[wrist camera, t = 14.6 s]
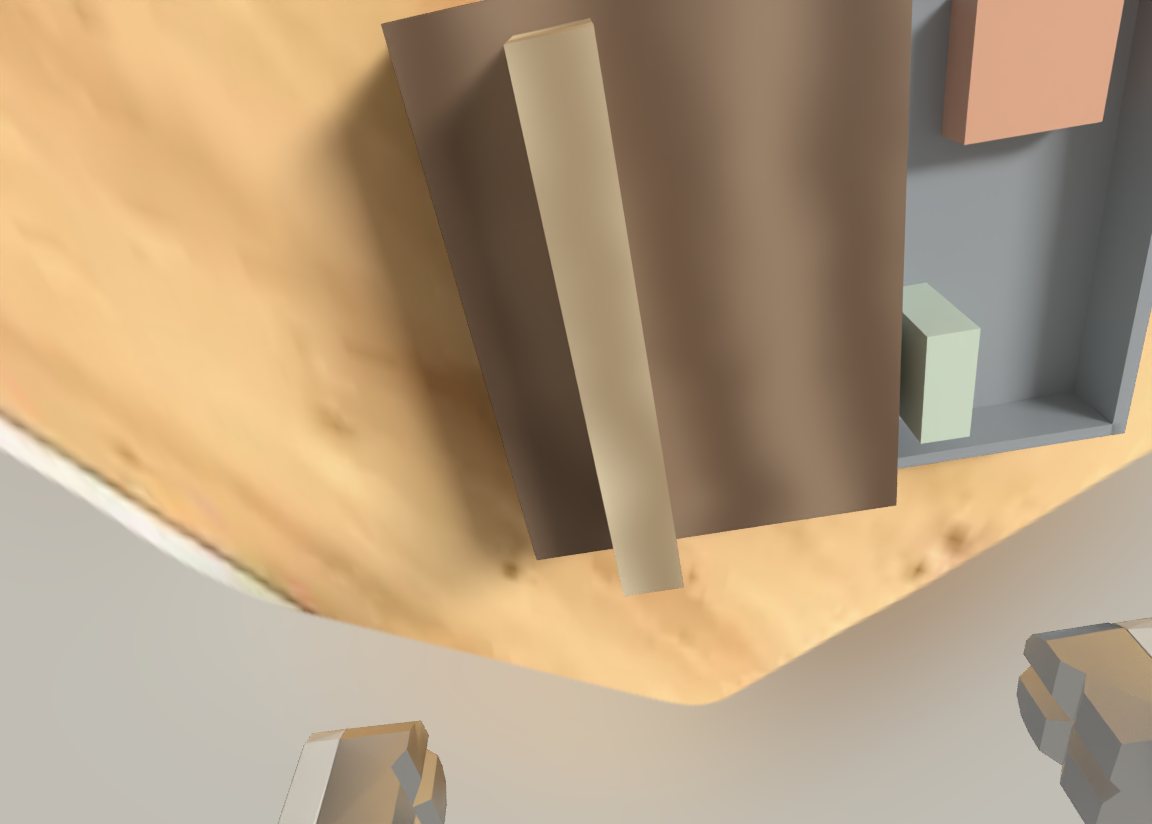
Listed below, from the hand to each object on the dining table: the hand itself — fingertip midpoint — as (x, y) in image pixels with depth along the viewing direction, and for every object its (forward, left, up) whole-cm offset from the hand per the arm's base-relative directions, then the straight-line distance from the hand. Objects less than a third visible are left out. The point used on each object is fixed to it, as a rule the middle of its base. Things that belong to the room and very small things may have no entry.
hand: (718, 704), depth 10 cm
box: (+15, -2, -25) cm, 29 cm away
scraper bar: (-1, -2, -19) cm, 19 cm away
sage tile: (+11, -8, -22) cm, 26 cm away
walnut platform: (+2, -2, -25) cm, 25 cm away
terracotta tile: (+16, +3, -22) cm, 28 cm away
